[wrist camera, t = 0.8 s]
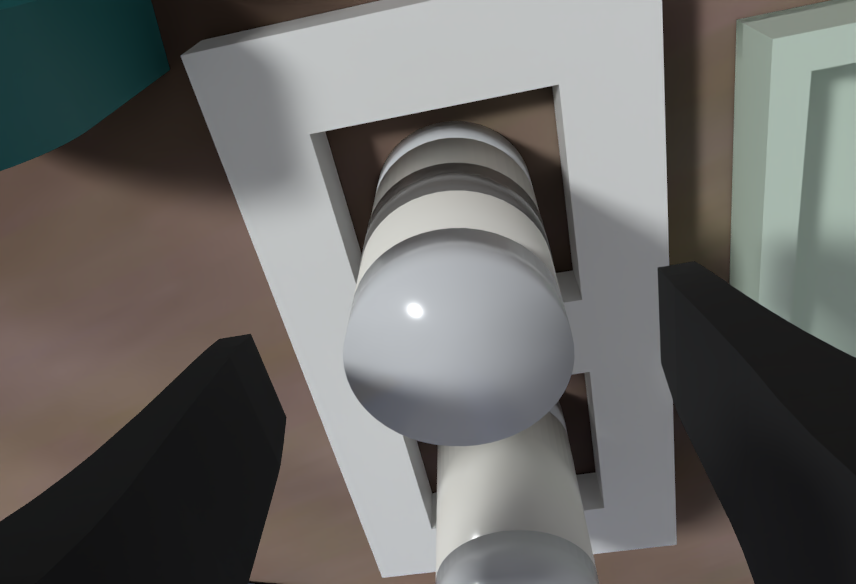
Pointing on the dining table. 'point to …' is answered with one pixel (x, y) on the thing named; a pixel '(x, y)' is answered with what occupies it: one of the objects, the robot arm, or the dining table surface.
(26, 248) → the dining table surface
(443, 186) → the cylinder
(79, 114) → the bracket
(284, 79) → the fuse holder
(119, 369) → the dining table surface
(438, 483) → the cylinder
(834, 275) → the parts tray
